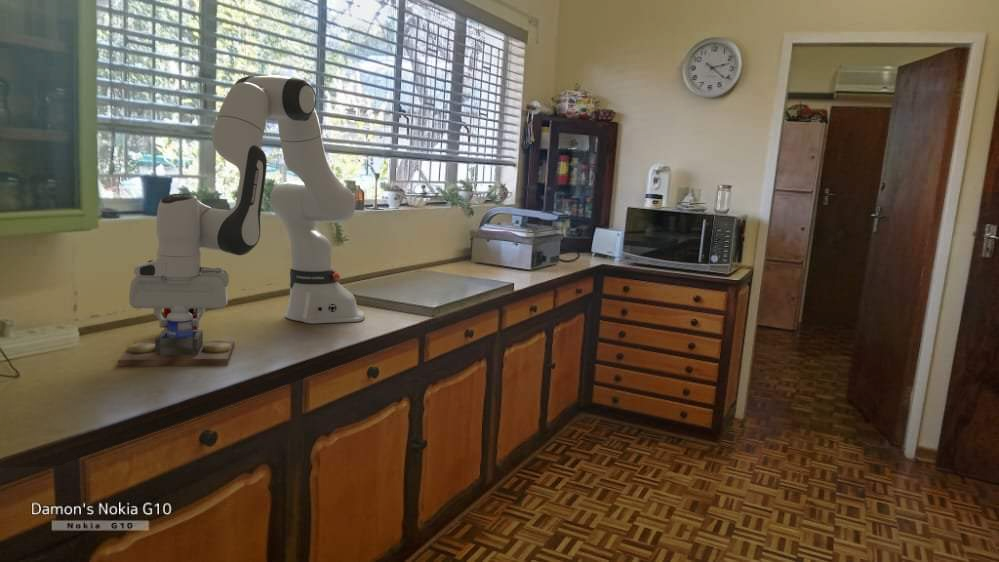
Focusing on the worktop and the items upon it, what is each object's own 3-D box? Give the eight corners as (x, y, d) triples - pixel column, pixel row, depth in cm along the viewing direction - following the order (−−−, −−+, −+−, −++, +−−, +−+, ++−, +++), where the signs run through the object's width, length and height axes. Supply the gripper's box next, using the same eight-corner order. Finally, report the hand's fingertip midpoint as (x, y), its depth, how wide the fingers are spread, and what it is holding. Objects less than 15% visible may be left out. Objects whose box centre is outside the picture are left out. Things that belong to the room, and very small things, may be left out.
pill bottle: (162, 345, 163) (162, 303, 162) (186, 341, 167) (185, 300, 166) (173, 350, 160) (172, 307, 158) (197, 346, 164) (196, 304, 162)
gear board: (234, 346, 174) (234, 326, 174) (227, 365, 159) (227, 343, 158) (135, 347, 169) (134, 326, 168) (118, 366, 153) (117, 344, 153)
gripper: (230, 265, 166) (230, 323, 169) (132, 263, 161) (134, 323, 163) (227, 270, 160) (227, 330, 163) (126, 268, 155) (127, 330, 157)
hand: (179, 327), depth 163 cm, fingers closed on pill bottle, 5 cm apart
